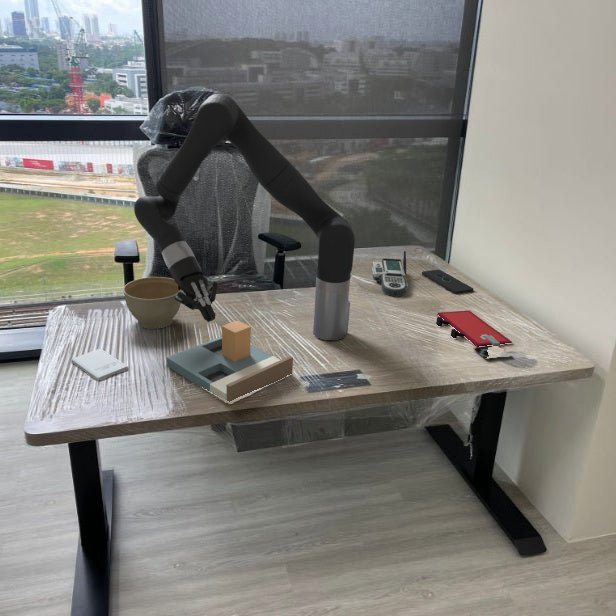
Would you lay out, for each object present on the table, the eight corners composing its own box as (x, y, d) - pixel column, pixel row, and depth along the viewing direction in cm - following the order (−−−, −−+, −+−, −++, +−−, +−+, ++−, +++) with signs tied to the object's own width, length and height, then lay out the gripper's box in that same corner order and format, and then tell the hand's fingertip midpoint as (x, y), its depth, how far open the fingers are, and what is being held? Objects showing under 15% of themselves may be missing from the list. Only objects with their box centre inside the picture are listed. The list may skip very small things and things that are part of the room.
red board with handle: (479, 363, 158) (527, 358, 163) (481, 353, 157) (529, 349, 162) (426, 317, 184) (468, 314, 189) (427, 309, 183) (470, 306, 188)
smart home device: (439, 268, 220) (474, 288, 204) (439, 273, 221) (474, 293, 204) (421, 271, 217) (455, 291, 200) (420, 275, 218) (454, 296, 201)
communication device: (374, 297, 197) (376, 272, 194) (370, 271, 219) (372, 248, 215) (410, 299, 197) (414, 274, 193) (403, 273, 219) (405, 250, 215)
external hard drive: (101, 353, 154) (128, 371, 147) (71, 364, 149) (98, 383, 141) (101, 348, 154) (128, 365, 146) (70, 358, 148) (97, 377, 141)
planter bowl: (114, 329, 166) (111, 293, 162) (145, 307, 180) (143, 273, 176) (166, 339, 162) (164, 302, 158) (194, 316, 176) (193, 281, 172)
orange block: (237, 348, 154) (237, 320, 150) (250, 355, 151) (250, 326, 147) (222, 354, 150) (221, 325, 147) (235, 361, 147) (235, 332, 144)
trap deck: (229, 341, 162) (229, 324, 160) (292, 375, 148) (293, 357, 146) (167, 366, 149) (166, 348, 147) (229, 405, 134) (229, 386, 132)
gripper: (165, 261, 149) (196, 321, 147) (208, 250, 158) (238, 307, 156) (154, 275, 155) (184, 333, 152) (196, 264, 164) (225, 319, 161)
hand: (211, 320), depth 154 cm, fingers closed
